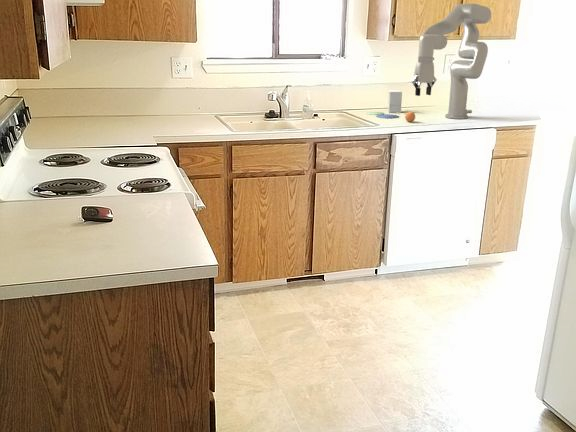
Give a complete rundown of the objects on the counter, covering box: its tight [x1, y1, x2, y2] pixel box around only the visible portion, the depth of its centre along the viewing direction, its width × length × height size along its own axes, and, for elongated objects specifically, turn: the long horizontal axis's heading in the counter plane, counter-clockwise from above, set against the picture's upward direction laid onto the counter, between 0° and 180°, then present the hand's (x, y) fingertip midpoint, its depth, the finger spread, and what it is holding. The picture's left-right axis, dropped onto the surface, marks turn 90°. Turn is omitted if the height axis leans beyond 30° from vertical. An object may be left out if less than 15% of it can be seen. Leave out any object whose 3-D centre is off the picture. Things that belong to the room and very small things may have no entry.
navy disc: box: [375, 113, 400, 119], centre depth 345 cm, size 13×13×1 cm
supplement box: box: [387, 89, 403, 114], centre depth 359 cm, size 7×7×13 cm
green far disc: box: [367, 111, 385, 116], centre depth 355 cm, size 10×10×1 cm
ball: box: [404, 111, 416, 123], centre depth 327 cm, size 6×6×6 cm
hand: (423, 94), depth 315 cm, fingers open, 6 cm apart
